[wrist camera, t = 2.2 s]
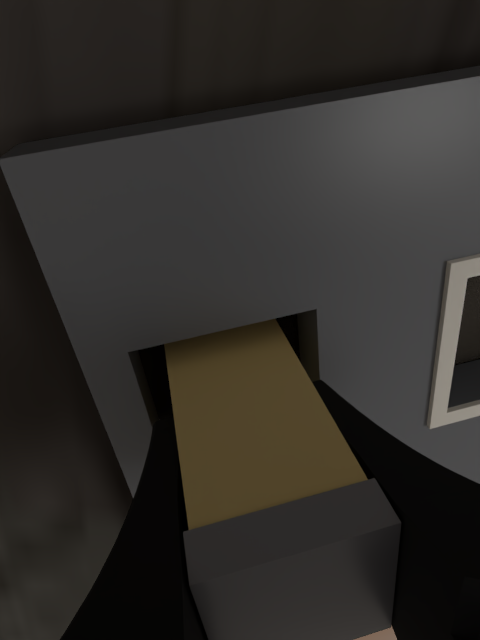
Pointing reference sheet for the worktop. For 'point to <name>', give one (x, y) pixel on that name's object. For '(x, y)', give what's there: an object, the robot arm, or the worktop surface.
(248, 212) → the socket panel
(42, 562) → the worktop surface
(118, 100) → the worktop surface
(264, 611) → the plug
